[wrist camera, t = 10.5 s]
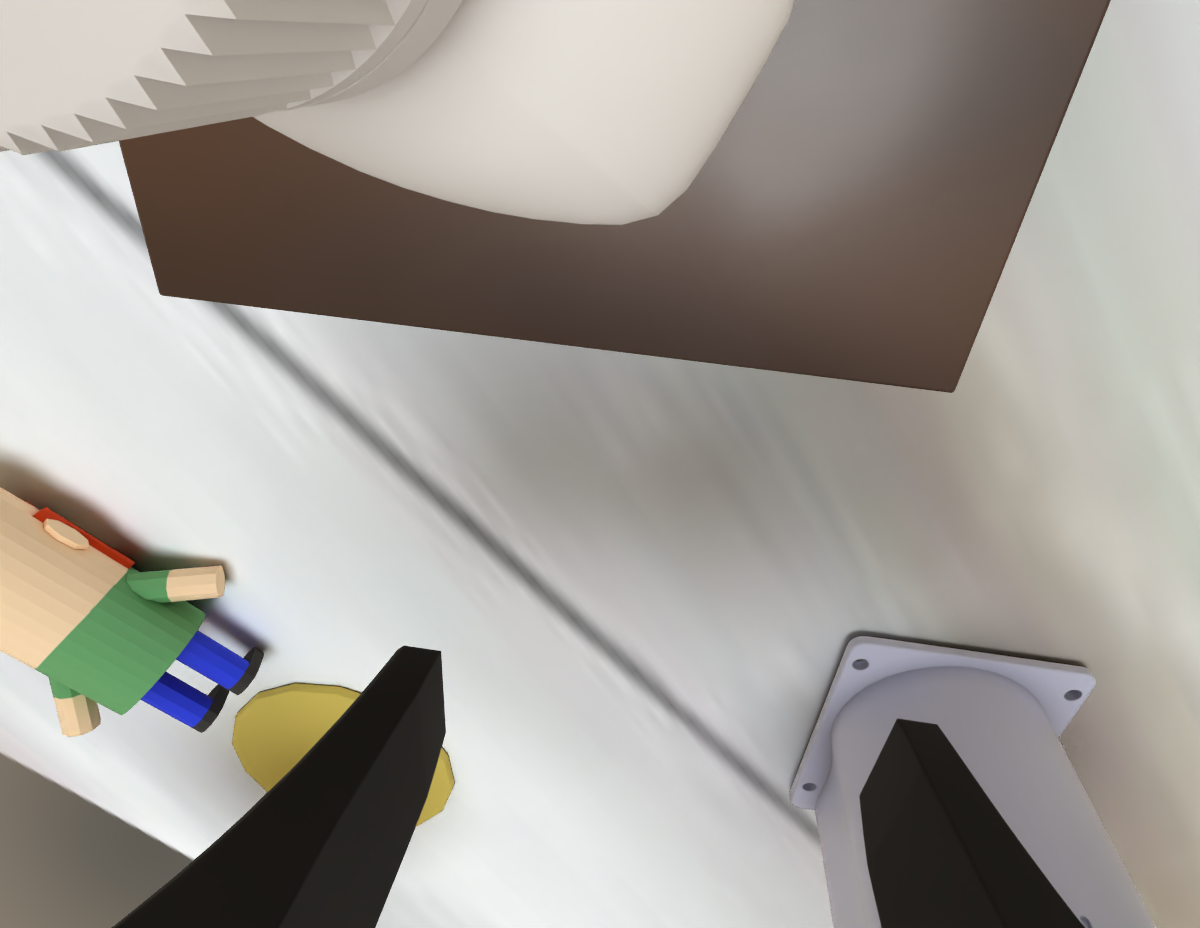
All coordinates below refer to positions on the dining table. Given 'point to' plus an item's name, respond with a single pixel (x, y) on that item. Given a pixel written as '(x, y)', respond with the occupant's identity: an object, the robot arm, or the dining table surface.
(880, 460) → the dining table surface
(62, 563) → the toy figurine
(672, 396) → the dining table surface
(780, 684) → the dining table surface
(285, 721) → the candle
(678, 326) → the shelf
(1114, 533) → the dining table surface
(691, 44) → the eye dropper bottle
